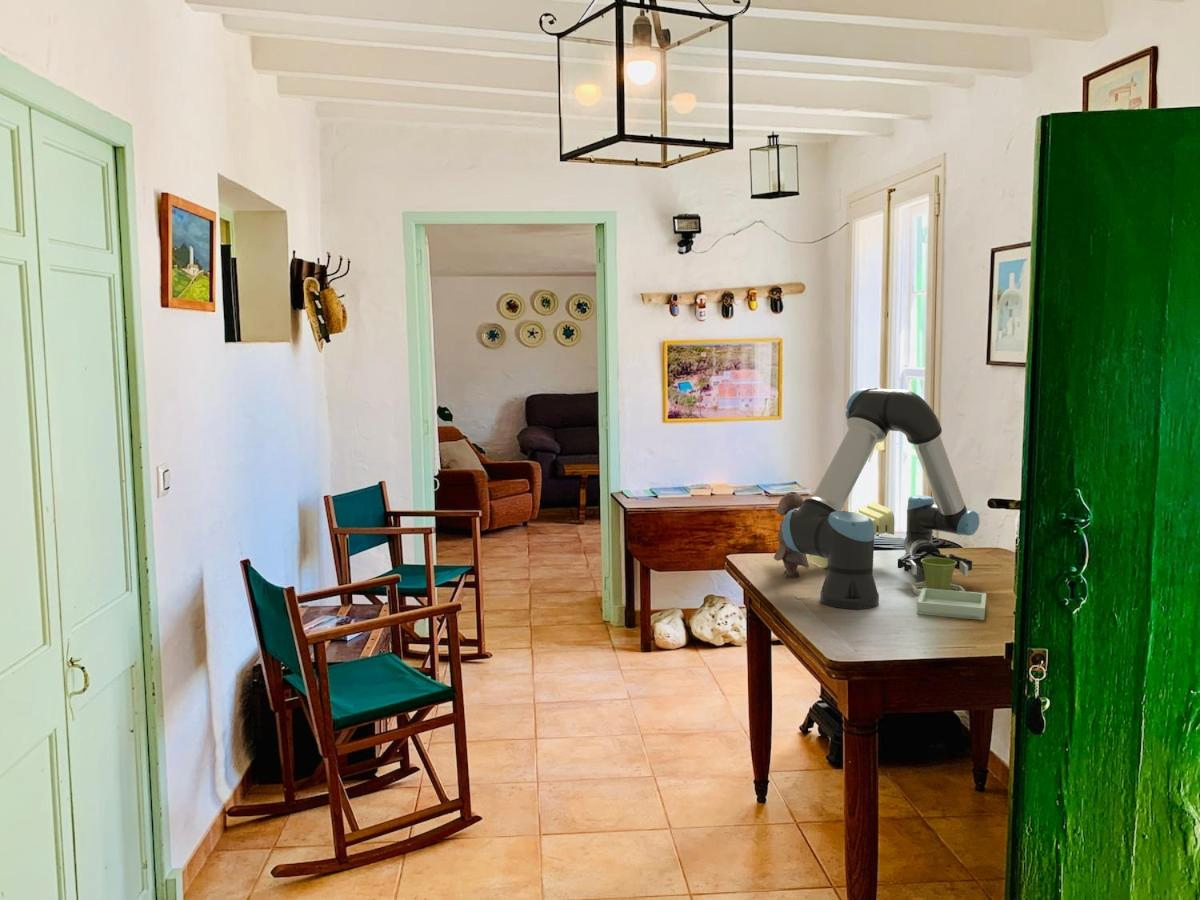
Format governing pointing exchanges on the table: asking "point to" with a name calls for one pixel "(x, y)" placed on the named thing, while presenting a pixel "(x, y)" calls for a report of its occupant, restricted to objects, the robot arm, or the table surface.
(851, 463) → the robot arm
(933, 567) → the plant pot
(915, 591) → the collar ring
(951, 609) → the tray
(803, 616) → the table surface
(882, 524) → the slatted curved stool
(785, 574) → the clay figurine
